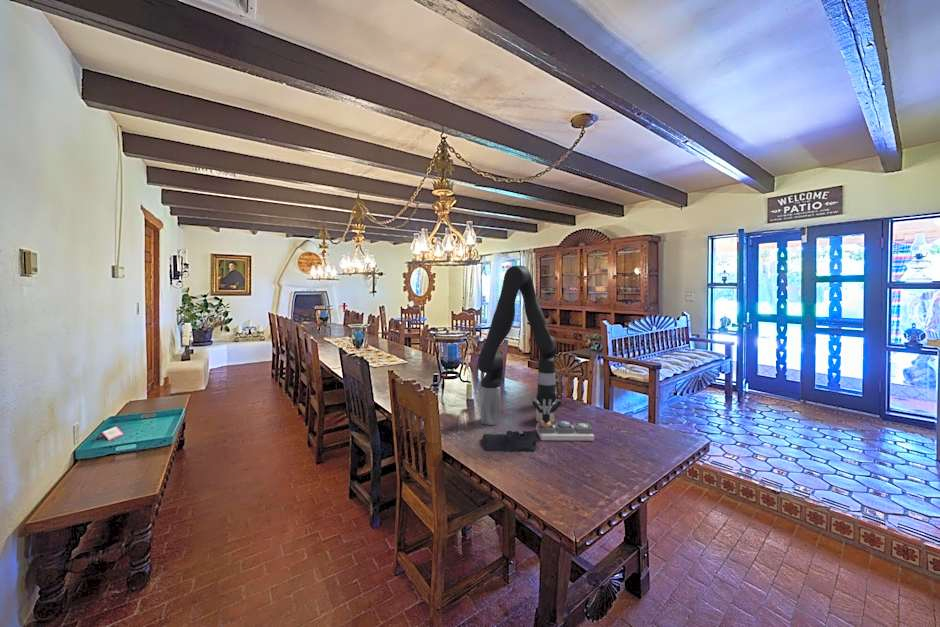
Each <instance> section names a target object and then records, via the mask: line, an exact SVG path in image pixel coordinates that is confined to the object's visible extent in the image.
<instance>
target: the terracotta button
mask: <svg viewBox="0 0 940 627" xmlns="http://www.w3.org/2000/svg"><path fill="white" fill-rule="evenodd" d="M540 423H541V425H540V427H541V428H551V422H549V421H548V423H544V421H541V422H540Z"/></svg>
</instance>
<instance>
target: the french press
mask: <svg viewBox="0 0 940 627" xmlns="http://www.w3.org/2000/svg"><path fill="white" fill-rule="evenodd" d="M559 376H560V373H558V372H555V378H556V380H555V388H556V391H555V395H556V398H557V399H558V400H562V398H563V397H562V396H563V395H562V394H563V383H562V382H561V381H560V382H559V381H557V380H558V379H559ZM559 389H560V390H559ZM559 392H560V393H559Z"/></svg>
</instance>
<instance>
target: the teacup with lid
mask: <svg viewBox="0 0 940 627" xmlns="http://www.w3.org/2000/svg"><path fill="white" fill-rule="evenodd" d="M537 402H538V404H537V405H538V406H539V407H540V409H542V405H541V404H540V403H539V401H537ZM554 404H555V402H554V403H553V404H552V405H551V408H552V407H553V405H554ZM535 420H536V422H537V423H541V421H543V419H542V413H540V412H539V411H538V410H537V409H536V408H535ZM549 422H551V423H552V424H553V423H554V422H555V412H554V413H550V420H549Z"/></svg>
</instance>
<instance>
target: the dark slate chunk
mask: <svg viewBox="0 0 940 627" xmlns="http://www.w3.org/2000/svg"><path fill="white" fill-rule="evenodd" d="M481 441H482V443H481V444H482V447H483V450H485V452H508V453H510V452H511V453H512V452H517V453H520V452H522V453H525V452H530V453H531V452H532V453H533V452H535V451H537V450H538V448H537V446H536V445H537V442H538V439H537V437H536V435H535V432H534V430H531V431H530V430H528V431H526V430H523V431H522V433H520V432H519V430H515V431H512V430H507V431H506V433H483V435H482V438H481Z"/></svg>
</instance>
